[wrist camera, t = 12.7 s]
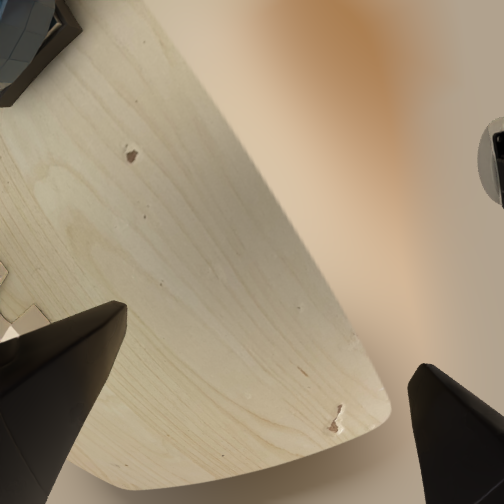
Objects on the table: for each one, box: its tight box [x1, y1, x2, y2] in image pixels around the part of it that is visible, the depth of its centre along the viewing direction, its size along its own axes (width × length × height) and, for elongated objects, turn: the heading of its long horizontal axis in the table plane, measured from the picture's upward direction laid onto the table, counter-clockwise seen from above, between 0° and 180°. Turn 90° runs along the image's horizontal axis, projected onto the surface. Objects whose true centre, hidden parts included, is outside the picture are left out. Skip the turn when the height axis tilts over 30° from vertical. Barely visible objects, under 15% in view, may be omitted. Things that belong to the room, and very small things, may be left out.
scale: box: [0, 0, 82, 107], centre depth 14 cm, size 8×8×3 cm
